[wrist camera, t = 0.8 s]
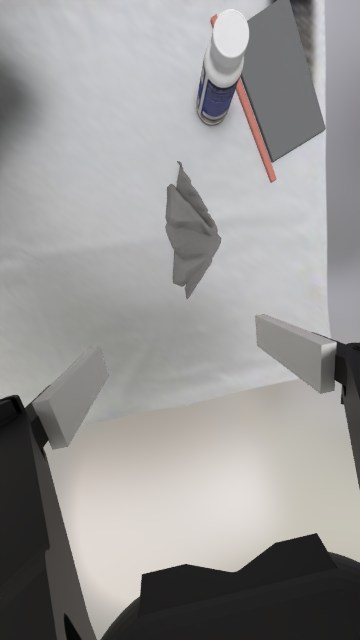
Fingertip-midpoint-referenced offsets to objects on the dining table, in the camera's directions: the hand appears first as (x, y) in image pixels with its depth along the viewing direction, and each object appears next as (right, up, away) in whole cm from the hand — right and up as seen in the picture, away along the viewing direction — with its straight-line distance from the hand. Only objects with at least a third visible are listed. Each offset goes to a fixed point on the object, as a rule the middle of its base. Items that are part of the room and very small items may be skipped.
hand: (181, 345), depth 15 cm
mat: (+17, +44, +17) cm, 50 cm away
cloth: (+2, +19, +23) cm, 30 cm away
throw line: (+12, +40, +17) cm, 46 cm away
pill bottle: (+6, +40, +17) cm, 44 cm away
